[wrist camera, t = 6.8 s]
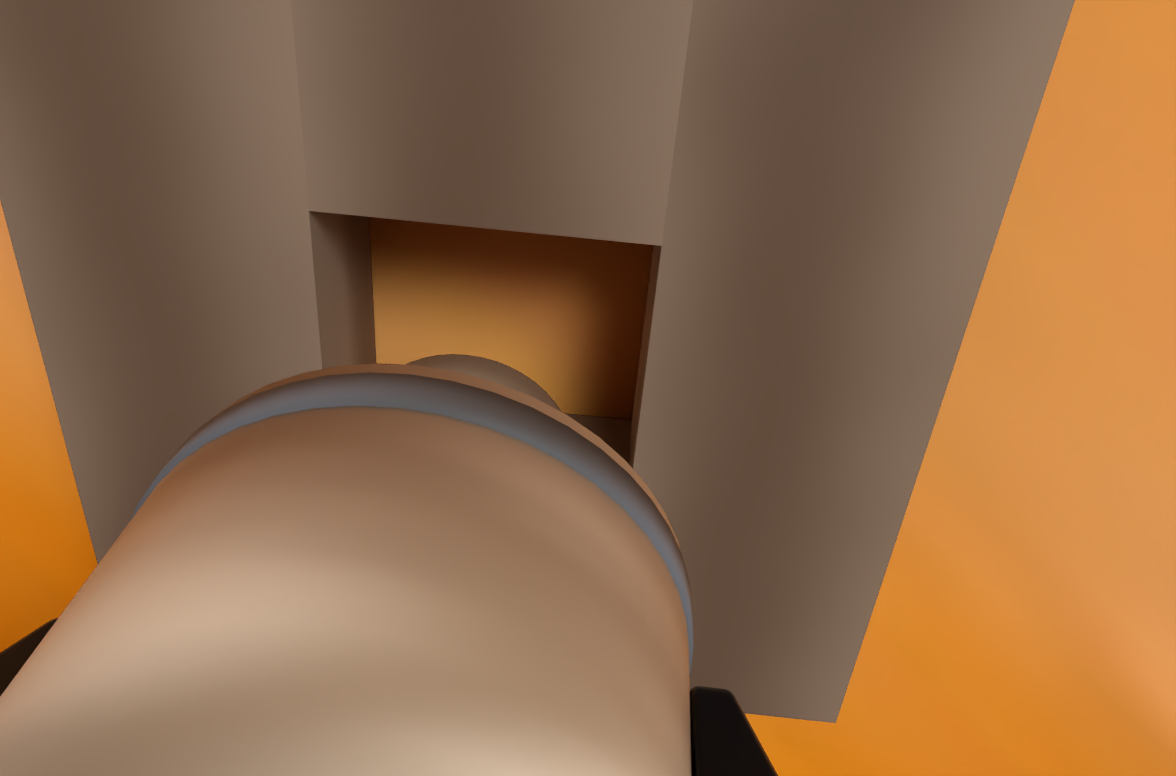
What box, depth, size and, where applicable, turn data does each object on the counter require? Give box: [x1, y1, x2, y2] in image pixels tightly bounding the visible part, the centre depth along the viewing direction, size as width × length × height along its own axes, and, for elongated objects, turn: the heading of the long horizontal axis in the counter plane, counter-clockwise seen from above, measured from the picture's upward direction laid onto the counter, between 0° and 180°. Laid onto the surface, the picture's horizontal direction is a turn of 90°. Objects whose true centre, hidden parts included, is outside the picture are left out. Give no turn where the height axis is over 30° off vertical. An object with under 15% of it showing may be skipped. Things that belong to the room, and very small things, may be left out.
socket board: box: [0, 0, 1075, 723], centre depth 16 cm, size 14×14×3 cm
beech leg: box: [0, 354, 693, 776], centre depth 9 cm, size 6×6×10 cm
